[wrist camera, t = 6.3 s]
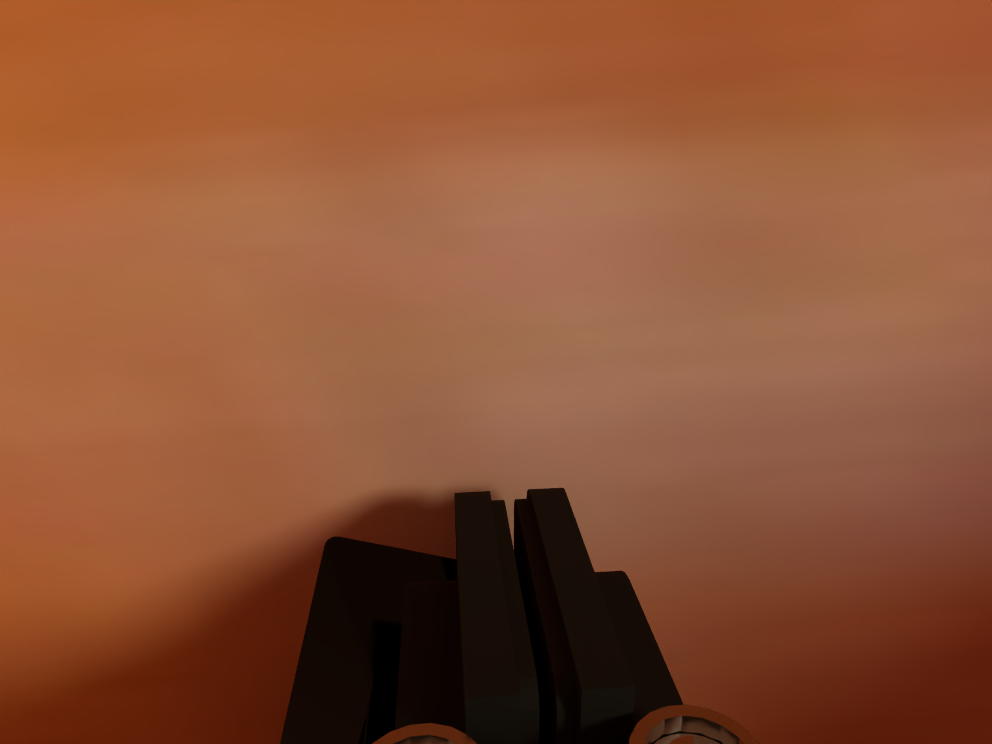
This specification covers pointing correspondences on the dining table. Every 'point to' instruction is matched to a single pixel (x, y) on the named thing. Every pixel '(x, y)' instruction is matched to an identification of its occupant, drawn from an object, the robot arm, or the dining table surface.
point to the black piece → (355, 642)
